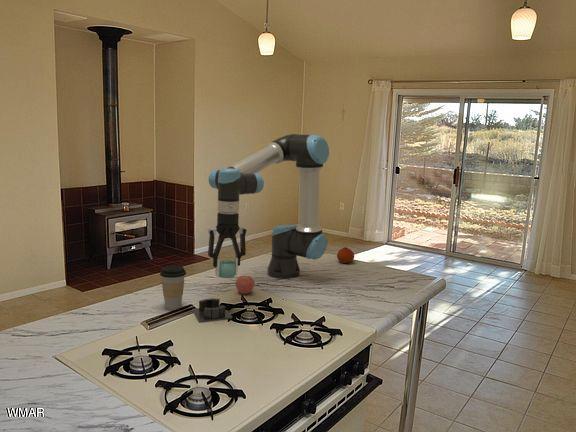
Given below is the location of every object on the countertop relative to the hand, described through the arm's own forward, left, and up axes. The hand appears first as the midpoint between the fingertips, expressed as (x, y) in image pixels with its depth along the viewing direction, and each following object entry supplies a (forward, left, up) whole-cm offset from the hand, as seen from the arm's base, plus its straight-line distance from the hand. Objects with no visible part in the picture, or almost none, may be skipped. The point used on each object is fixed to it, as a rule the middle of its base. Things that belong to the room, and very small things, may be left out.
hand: (226, 274), depth 174 cm
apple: (-17, +12, -14) cm, 25 cm away
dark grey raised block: (+1, -6, -14) cm, 15 cm away
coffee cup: (-10, -18, -14) cm, 25 cm away
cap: (0, 0, 0) cm, 0 cm away
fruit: (-46, +75, -14) cm, 89 cm away
